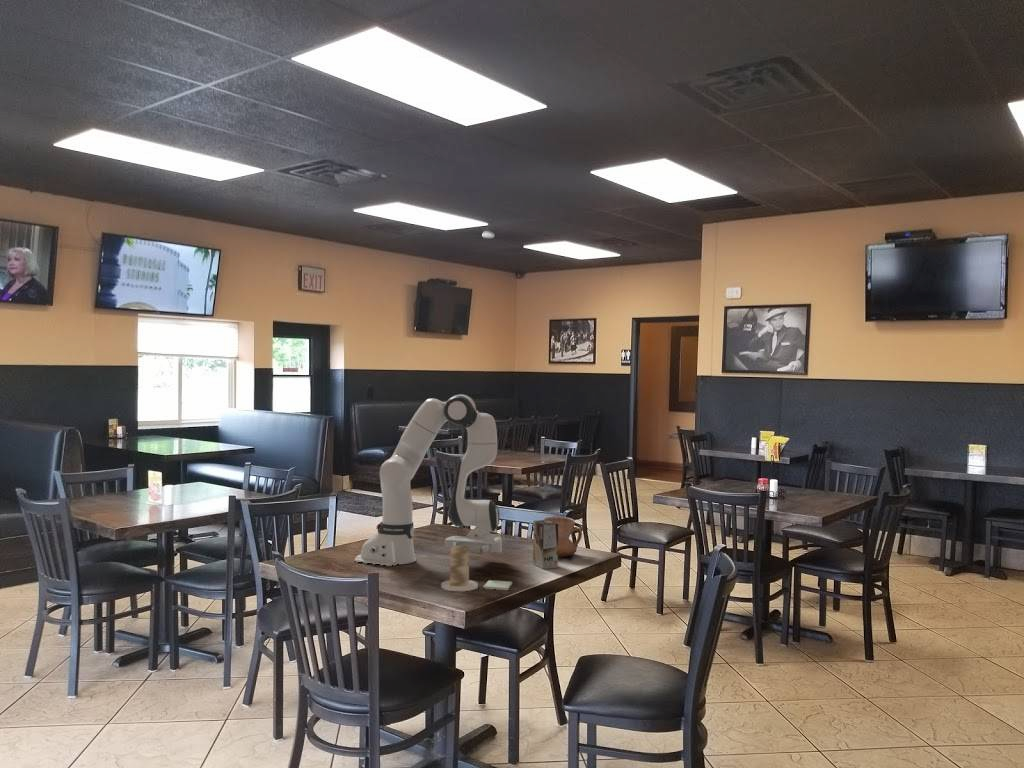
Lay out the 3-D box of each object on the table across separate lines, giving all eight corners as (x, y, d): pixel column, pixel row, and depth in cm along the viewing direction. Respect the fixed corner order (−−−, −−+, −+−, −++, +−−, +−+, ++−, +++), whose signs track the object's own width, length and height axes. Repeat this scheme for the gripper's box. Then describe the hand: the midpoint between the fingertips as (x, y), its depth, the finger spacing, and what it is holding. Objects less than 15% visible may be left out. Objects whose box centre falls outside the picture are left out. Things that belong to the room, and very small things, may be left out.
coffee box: (558, 567, 276) (559, 523, 276) (542, 569, 274) (543, 524, 274) (547, 562, 285) (548, 519, 285) (531, 563, 282) (532, 520, 282)
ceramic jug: (539, 560, 288) (541, 522, 288) (532, 551, 302) (534, 515, 302) (586, 560, 291) (587, 523, 291) (577, 551, 305) (578, 516, 305)
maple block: (449, 585, 246) (450, 548, 246) (454, 581, 251) (454, 545, 251) (464, 586, 245) (465, 549, 245) (468, 582, 250) (469, 546, 250)
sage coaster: (483, 588, 247) (483, 586, 247) (488, 582, 255) (488, 580, 255) (507, 590, 245) (507, 587, 245) (512, 584, 253) (512, 581, 253)
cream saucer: (436, 590, 244) (436, 587, 244) (446, 581, 255) (446, 578, 255) (473, 593, 241) (473, 590, 241) (481, 583, 253) (481, 580, 253)
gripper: (450, 530, 276) (439, 537, 263) (505, 534, 272) (497, 541, 259) (449, 547, 276) (439, 556, 263) (505, 551, 272) (496, 560, 259)
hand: (468, 549), depth 261 cm, fingers open, 8 cm apart
